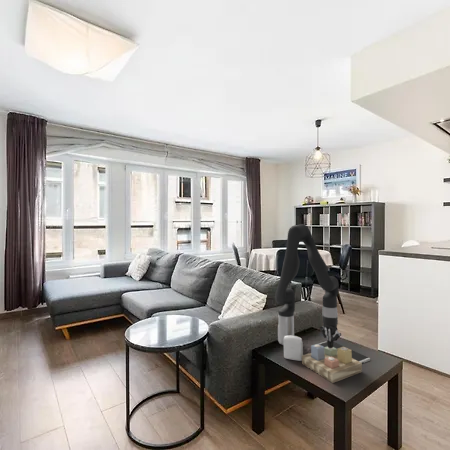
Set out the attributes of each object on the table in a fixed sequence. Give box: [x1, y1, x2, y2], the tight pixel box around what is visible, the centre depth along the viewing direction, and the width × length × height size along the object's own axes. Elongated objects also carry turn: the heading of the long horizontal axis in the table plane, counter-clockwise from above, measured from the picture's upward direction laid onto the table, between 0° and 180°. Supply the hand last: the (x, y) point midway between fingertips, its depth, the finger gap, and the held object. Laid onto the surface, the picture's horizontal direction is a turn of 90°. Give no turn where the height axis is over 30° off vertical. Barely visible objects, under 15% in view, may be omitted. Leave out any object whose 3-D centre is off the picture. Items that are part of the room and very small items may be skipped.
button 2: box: [324, 346, 337, 357], centre depth 151 cm, size 5×5×6 cm
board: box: [301, 351, 363, 384], centre depth 145 cm, size 20×20×4 cm
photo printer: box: [283, 335, 304, 362], centre depth 155 cm, size 10×4×12 cm, turn 66°
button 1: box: [310, 343, 325, 361], centre depth 146 cm, size 5×5×6 cm
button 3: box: [324, 356, 339, 369], centre depth 138 cm, size 5×5×6 cm
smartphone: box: [318, 340, 371, 364], centre depth 161 cm, size 13×27×2 cm, turn 29°
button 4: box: [337, 346, 353, 364], centre depth 143 cm, size 5×5×6 cm
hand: (330, 347), depth 151 cm, fingers closed
